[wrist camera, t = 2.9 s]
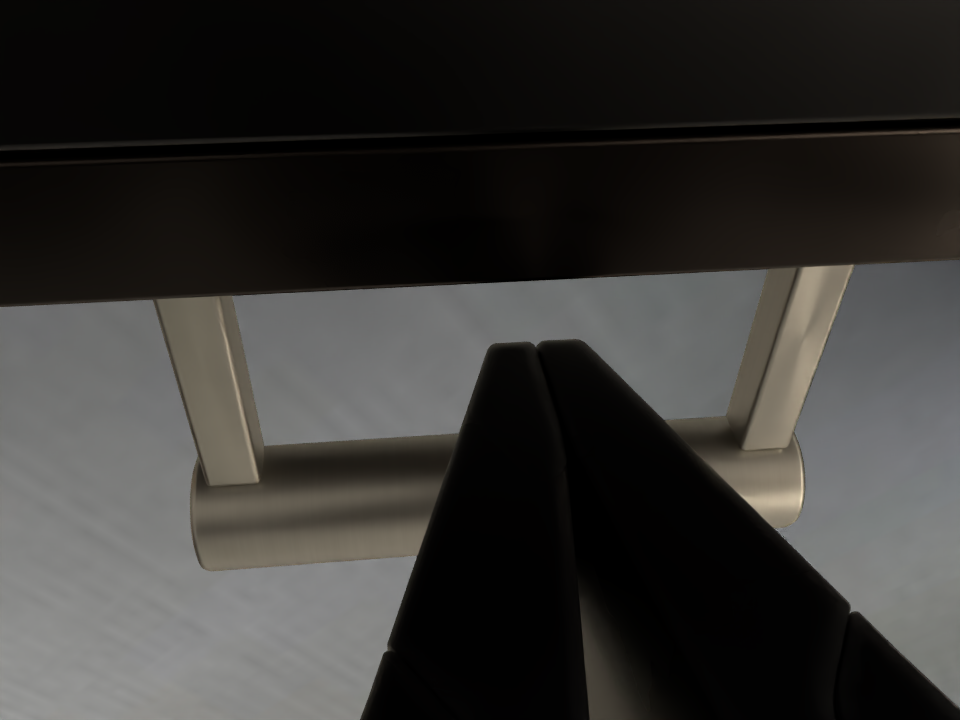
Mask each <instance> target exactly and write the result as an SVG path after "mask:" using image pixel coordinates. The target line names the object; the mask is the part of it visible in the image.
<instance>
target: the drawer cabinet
mask: <svg viewBox="0 0 960 720" xmlns="http://www.w3.org/2000/svg"><path fill="white" fill-rule="evenodd" d="M938 118H960V0H0V151H9V150H38V149H67V148H96V147H125V146H154V145H183V144H212V143H241V142H270V141H299V140H328V139H357V138H386V137H415V136H445V135H474V134H503V133H532V132H561V131H590V130H619V129H648V128H677V127H706V126H735V125H764V124H793V123H822V122H851V121H880V120H909V119H938Z"/></svg>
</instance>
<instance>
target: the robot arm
mask: <svg viewBox="0 0 960 720" xmlns="http://www.w3.org/2000/svg"><path fill="white" fill-rule="evenodd" d="M387 647H388V651H386V652H385V653H384V654H383V657H382V660H381V662H380V665H379V668H378V671H377V674H376V677H375V680H374V683H373V686H372V689H371V692H370V695H369V697H368V700H367V703H366V705H365V708H364V711H363V713H362V716H361V719H360V720H960V708H959V707H957V706H956V705H955V704H954V703H953V702H952V701H951V700H950V699H949V698H948V697H947V696H946V695H945V694H944V693H943V692H942V691H940V690H939V689H938V688H937V687H936V686H935V685H934V684H933V683H932V682H931V681H930V680H929V679H928V678H927V677H926V676H925V675H923V674H922V673H921V672H920V671H919V670H918V669H917V668H916V667H915V666H914V665H913V664H912V663H911V662H910V661H909V660H908V659H906V658H905V657H904V656H903V655H902V654H901V653H900V652H899V651H898V650H897V649H896V648H895V647H894V646H893V645H892V644H891V643H890V642H889V641H888V640H887V639H886V638H885V637H884V636H883V635H882V634H881V633H880V632H879V631H878V630H877V629H876V628H875V627H874V626H873V625H872V624H871V623H870V622H869V621H868V620H866V619H865V618H864V617H863V616H862V615H861V614H860V613H859V612H857V611H854V612H851V613H850V604H849V602H848V601H847V600H846V599H845V598H844V597H843V596H842V595H841V594H840V593H839V592H838V591H837V590H836V589H835V588H834V587H833V586H832V585H830V584H829V583H828V582H827V581H826V580H825V579H824V578H823V577H822V576H821V575H820V574H819V573H818V572H817V571H816V570H815V569H814V568H813V567H812V566H811V565H810V564H809V563H808V562H807V561H806V560H805V559H804V558H803V557H802V556H801V555H800V554H799V553H798V552H797V551H796V550H795V549H794V548H793V547H792V546H791V545H790V544H789V543H788V542H787V541H786V540H785V539H784V538H783V537H782V536H781V535H780V534H779V533H778V532H777V531H776V530H775V529H774V528H773V527H772V526H771V525H770V524H769V523H768V522H767V521H766V520H765V519H764V518H763V517H762V516H761V515H760V514H759V513H758V512H757V511H756V510H755V509H754V508H753V507H752V506H750V505H749V504H748V503H747V502H746V501H745V500H744V499H743V498H742V497H741V496H740V495H739V494H738V493H737V492H736V491H735V490H734V489H733V488H732V487H731V486H730V485H729V484H728V483H727V482H726V481H725V480H724V479H723V478H722V477H721V476H720V475H719V474H718V473H717V472H716V471H715V470H714V469H713V468H712V467H711V466H710V465H709V464H708V463H707V462H706V461H705V460H704V459H703V458H702V457H701V456H700V455H699V454H698V453H697V452H696V451H695V450H694V449H693V448H692V447H691V446H690V445H689V444H688V443H687V442H686V441H685V440H684V439H683V438H682V437H681V436H680V435H679V434H678V433H677V432H676V431H675V430H674V429H673V428H672V427H670V426H669V425H668V424H667V423H666V422H665V421H664V420H663V419H662V418H661V417H660V416H659V415H658V414H657V413H656V412H655V411H654V410H653V409H652V408H651V407H650V406H649V405H648V404H647V403H646V402H645V401H644V400H643V399H642V398H641V397H640V396H639V395H638V394H637V393H636V392H635V391H634V390H633V389H632V388H631V387H630V386H629V385H628V384H627V383H626V382H625V381H624V380H623V379H622V378H621V377H620V376H619V375H618V374H617V373H616V372H615V371H614V370H613V369H612V368H611V367H610V366H609V365H608V364H607V363H606V362H605V361H604V360H603V359H602V358H601V357H600V356H599V355H598V354H597V353H596V352H595V351H594V350H593V349H592V348H590V347H589V346H588V345H587V344H586V343H585V342H583V341H581V340H579V339H565V340H547V341H541V342H540V343H539V344H538V345H537V346H536V347H535V345H534V344H532V343H531V342H511V343H495V344H492V345H491V346H490V347H489V348H488V350H487V353H486V355H485V358H484V361H483V364H482V367H481V370H480V373H479V376H478V379H477V382H476V385H475V388H474V391H473V394H472V397H471V400H470V403H469V405H468V408H467V411H466V414H465V417H464V420H463V423H462V426H461V429H460V432H459V435H458V438H457V441H456V444H455V447H454V450H453V453H452V456H451V458H450V461H449V464H448V467H447V470H446V473H445V476H444V479H443V482H442V485H441V488H440V491H439V494H438V497H437V500H436V503H435V506H434V508H433V511H432V514H431V517H430V520H429V523H428V526H427V529H426V532H425V535H424V538H423V541H422V544H421V547H420V550H419V553H418V556H417V558H416V561H415V564H414V567H413V570H412V573H411V576H410V579H409V582H408V585H407V588H406V591H405V594H404V597H403V600H402V603H401V606H400V608H399V611H398V614H397V617H396V620H395V623H394V626H393V629H392V632H391V635H390V638H389V641H388V644H387Z"/></svg>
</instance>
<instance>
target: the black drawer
mask: <svg viewBox="0 0 960 720" xmlns="http://www.w3.org/2000/svg"><path fill="white" fill-rule="evenodd" d="M942 260H960V118H938V119H909V120H880V121H851V122H822V123H793V124H764V125H735V126H706V127H677V128H648V129H619V130H590V131H561V132H532V133H503V134H474V135H445V136H415V137H386V138H357V139H328V140H299V141H270V142H241V143H212V144H183V145H154V146H125V147H96V148H67V149H38V150H9V151H0V307H12V306H33V305H53V304H73V303H93V302H113V301H134V300H153V302H154V305H155V309H156V312H157V316H158V319H159V323H160V326H161V330H162V333H163V336H164V340H165V343H166V347H167V350H168V354H169V357H170V361H171V364H172V367H173V371H174V374H175V378H176V381H177V385H178V388H179V392H180V395H181V398H182V402H183V405H184V409H185V412H186V416H187V419H188V423H189V426H190V429H191V433H192V436H193V440H194V443H195V447H196V450H197V454H198V458H197V460H196V463H195V467H194V470H193V475H192V481H191V491H190V522H191V532H192V540H193V545H194V549H195V553H196V556H197V558H198V561H199V563H200V565H201V567H202V568H203V569H205V570H208V571H222V570H235V569H248V568H261V567H274V566H287V565H300V564H313V563H326V562H339V561H352V560H366V559H379V558H392V557H405V556H418V553H419V550H420V547H421V544H422V541H423V538H424V535H425V532H426V529H427V526H428V523H429V520H430V517H431V514H432V511H433V508H434V506H435V503H436V500H437V497H438V494H439V491H440V488H441V485H442V482H443V479H444V476H445V473H446V470H447V467H448V464H449V461H450V458H451V456H452V453H453V450H454V447H455V444H456V441H457V438H458V435H459V433H457V434H442V435H426V436H411V437H395V438H380V439H364V440H349V441H333V442H318V443H302V444H287V445H271V446H264V442H263V437H262V433H261V428H260V423H259V419H258V414H257V409H256V405H255V400H254V395H253V391H252V386H251V381H250V377H249V372H248V367H247V363H246V358H245V353H244V349H243V344H242V339H241V335H240V330H239V325H238V321H237V316H236V311H235V307H234V302H233V297H232V296H235V295H255V294H275V293H295V292H315V291H336V290H356V289H376V288H396V287H416V286H437V285H457V284H477V283H497V282H517V281H538V280H558V279H578V278H598V277H618V276H639V275H659V274H679V273H699V272H719V271H740V270H760V269H768V271H767V275H766V278H765V282H764V285H763V289H762V292H761V296H760V299H759V303H758V306H757V310H756V313H755V316H754V320H753V323H752V327H751V330H750V334H749V337H748V341H747V344H746V348H745V351H744V355H743V358H742V362H741V365H740V369H739V372H738V376H737V379H736V382H735V386H734V389H733V393H732V396H731V400H730V403H729V407H728V410H727V414H726V416H721V417H705V418H690V419H674V420H664V421H665V422H666V423H667V424H668V425H669V426H670V427H672V428H673V429H674V430H675V431H676V432H677V433H678V434H679V435H680V436H681V437H682V438H683V439H684V440H685V441H686V442H687V443H688V444H689V445H690V446H691V447H692V448H693V449H694V450H695V451H696V452H697V453H698V454H699V455H700V456H701V457H702V458H703V459H704V460H705V461H706V462H707V463H708V464H709V465H710V466H711V467H712V468H713V469H714V470H715V471H716V472H717V473H718V474H719V475H720V476H721V477H722V478H723V479H724V480H725V481H726V482H727V483H728V484H729V485H730V486H731V487H732V488H733V489H734V490H735V491H736V492H737V493H738V494H739V495H740V496H741V497H742V498H743V499H744V500H745V501H746V502H747V503H748V504H749V505H750V506H752V507H753V508H754V509H755V510H756V511H757V512H758V513H759V514H760V515H761V516H762V517H763V518H764V519H765V520H766V521H767V522H768V523H769V524H770V525H771V526H772V527H773V528H783V527H787V526H789V525H791V524H793V523H794V522H795V521H796V520H797V519H798V517H799V515H800V513H801V510H802V507H803V503H804V497H805V470H804V462H803V457H802V453H801V449H800V445H799V442H798V440H797V437H796V435H795V433H794V430H795V427H796V424H797V422H798V419H799V416H800V413H801V411H802V408H803V405H804V402H805V400H806V397H807V394H808V392H809V389H810V386H811V383H812V381H813V378H814V375H815V373H816V370H817V367H818V364H819V362H820V359H821V356H822V353H823V351H824V348H825V345H826V343H827V340H828V337H829V334H830V332H831V329H832V326H833V323H834V321H835V318H836V315H837V313H838V310H839V307H840V304H841V302H842V299H843V296H844V293H845V291H846V288H847V285H848V283H849V280H850V277H851V274H852V272H853V269H854V266H855V265H861V264H881V263H901V262H921V261H942Z"/></svg>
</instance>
